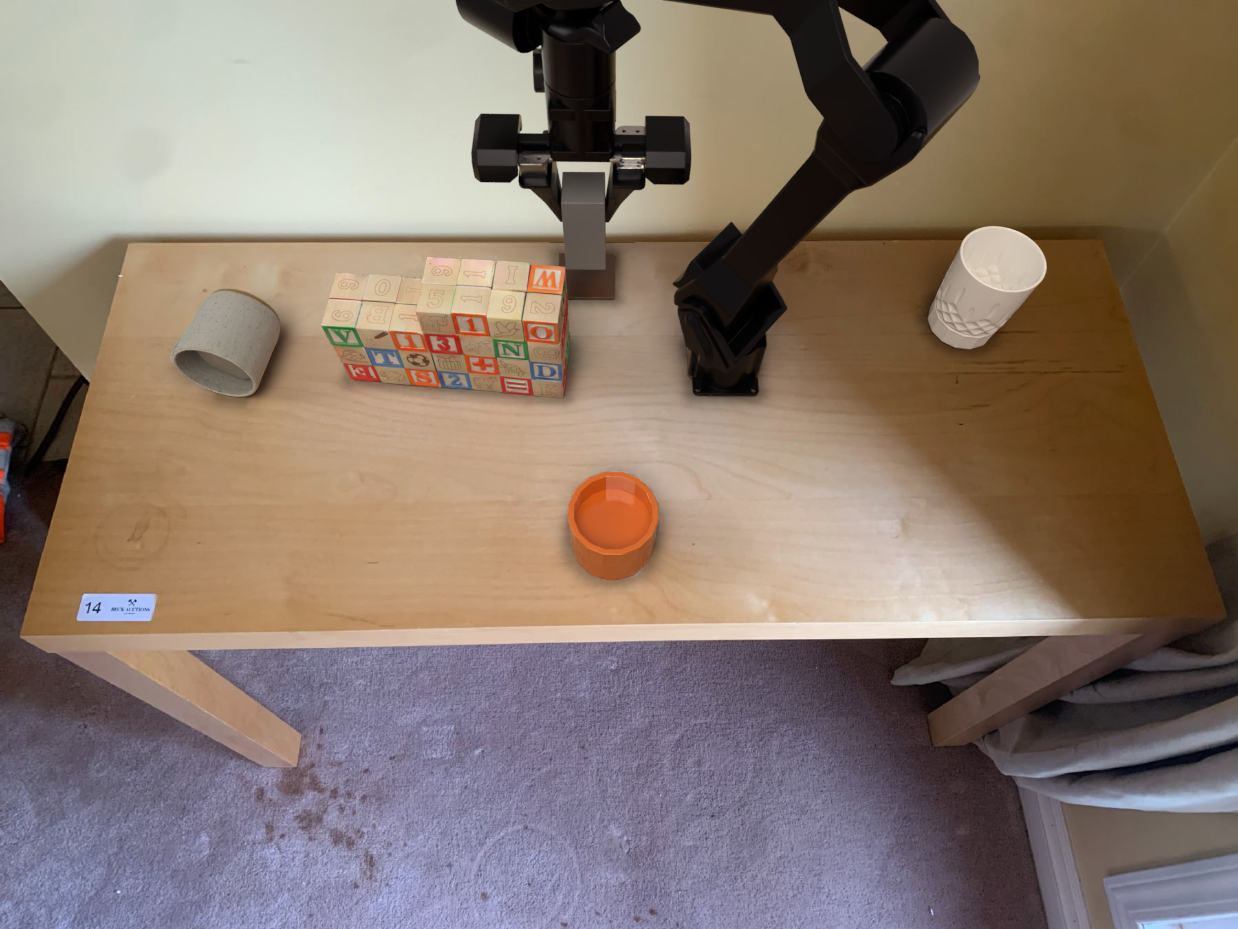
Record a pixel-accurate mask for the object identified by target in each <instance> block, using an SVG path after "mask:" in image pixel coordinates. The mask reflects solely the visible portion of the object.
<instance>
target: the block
mask: <svg viewBox="0 0 1238 929" xmlns="http://www.w3.org/2000/svg"><path fill="white" fill-rule="evenodd" d="M561 175H562V177H561V188H562V193H561V209H562V222H561V223H562V234H563V246H564V253H565V262H566V269H567V270H605V269H606V254H607V251H606V250H607V247H606V246H607V235H606V234H607V227H606V226H607V222H605V197H606V172H605V171H562V173H561Z"/></svg>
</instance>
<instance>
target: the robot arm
mask: <svg viewBox="0 0 1238 929" xmlns="http://www.w3.org/2000/svg"><path fill="white" fill-rule="evenodd" d="M663 1H664V2H671V3H679V4H687V5H692V6H693V5H694V6H699V7H700V6H701V7H707V8H714V9H715V8H716V9H722V10H729V11H736V12H742V13H750V14H755V15H764V16H771V17H773V19H774V20H775V21H776V23H777V24H778V25H779V26H780V28H781V29H782V30H783V32H784V33H785V34H786V35H787V36H788V38H789V40H790V44H791V47H792V52H793V55H794V58H795V61H796V64H797V69H798V72H799V76H800V79H801V83H802V86H803V90H804V93H805V95H806V96H807V98H808V100H809V102H811V104H812V105H813V106H814V107H815V109H816V110H817V111H818V112H819V114H820V115H821V116H822V118H823V119H822V120H821V122H820V123H819V124H820V125H819V126H818V128H817V129H816V134H815V140H814V145H813V149H812V152H811V154H810V155H809V157H808V158H807V159H805V161H804V163H802V164H801V166H800V167H798V169H797V170H796V171H795V173H794V174H792V176H791V177H790V179H789V180H788V181H787V182H786V183H785V184H784V185H783V187H782V188H781V189H780V190H779V192H777V194H776V195H774V197H773V198H772V200H771V201H769V203H768V204H767V205H766V207H765V208H764V209H763V210H762V211H761V212H760V214H759V215H758V216H757V217H756V218H755V219H754V220H753V222H752V223H751V224H750V225H749V226H748V227H747V229H746V230H745V231H744V232H741V231H740V229H739V228H738V227H737V226H736V224H735V223H734V222H733V221H730V222H729V223H728V224H727V225H726V226H725V227H724V228H723V229H722V230H721V231H720V232H719V233H717V235H715V237H714V238H713V239H711V241H710V242H709V243H708V244H706V245H705V247H703V249H702V250H700V252H698V253H697V255H696V256H694V257H693V258H692V259H691V260H690V261H689V263H688V265H687V266H686V268H685V270H684V271H683V272H682V273H681V274H680V275H679V276H678V277H677V278H676V279H675V280H674V281H673V282H672V283H671V284H672V286H673V287H675V288H677V289H676V291H674V295H673V304H674V305H675V306H677V310H676V312H677V317H678V320H679V324H680V325H679V326H680V329H681V332H682V337H683V340H684V344H685V347H686V348H687V350H686V366H687V368H686V370H687V371H686V372H687V375H688V376H689V377H691V391H692V394H693V395H694V396H697V397H707V396H708V397H756V396H758V395H759V392H760V386H759V376H758V375H759V372H760V369H761V366H762V363H763V360H764V356H765V353H766V350H767V347H768V341H767V340H768V339H767V332H768V331H769V330H770V329H771V327H772V326H774V325H775V323H776V322H777V321H778V320H779V319H780V318H781V317H782V316H783V314H785V313H786V311H787V310H788V306H787V304H786V303H785V301H784V299H783V297H782V295H781V293H780V292H779V290H778V288H777V286H776V284H775V283H774V280H773V279H775V276H776V275H777V273H778V271H779V270H778V269H779V264H780V263H781V262H782V261H783V260H784V259H785V258H786V257H787V256H788V255H789V254H790V253H791V252H792V251H793V250H794V249H795V248H796V247H797V246H798V245H799V244H800V243H801V242H802V241H804V239H805V238H806V237H807V236H808V235H809V234H810V233H811V232H812V231H813V230H814V229H815V228H816V227H817V226H818V225H819V224H820V223H821V222H822V221H824V220H825V218H826V217H827V216H829V215H830V213H831V212H832V211H833V210H834V209H836V207H838V206H839V205H840V203H842V201H844V200H845V199H846V198H847V197H848V196H849V195H850V194H851V193H852V194H853V192H855V191H858V190H862V189H866V188H870V187H872V186H874V185H876V184H878V183H879V182H881V181H883V180H884V179H885V178H888V177H889V176H891V175H892V174H894V173H895V172H897V171H899V170H900V169H902V168H904V167H906V166H907V165H908V164H909V163H911V162H912V161H913V160H914V159H915V158H916V157H917V156H918V155H919V154H920V153H921V152H922V151H923V150H924V148H926V146H927V145H928V144H929V143H930V142H931V141H932V140H933V139H934V138H935V136H936V135H937V134H938V133H939V132H940V131H941V130H942V129H943V128H944V126H945V125H947V123H948V122H950V120H951V119H953V117H954V116H955V115H956V114H957V112H958V111H959V110H960V109H962V107H963V106H964V105H965V104H966V103H967V102H968V100H969V99H970V98H971V97H972V96H973V94H974V93H975V91H976V90H977V88H978V86H979V83H980V81H981V75H980V59H979V57H978V54H977V50H976V48H975V47H976V46H975V45H974V43H973V42H972V40H971V39H970V38H969V35H968V34H967V33H966V32H965V31H964V30H963V29H961V28H960V27H959V26H957V25H956V24H955V23H954V22H952V20H951V19H950V17H949V16H948V14H946V12H945V11H944V10H943V8H942V6H941V5H940V4H939V2H938V1H937V0H663ZM455 5H456V8H457V9H456V10H457V12H458V15H459V16H460V17H461V18H462V20H464V21H465V22H466V23H468V24H469V25H471V26H472V27H473V28H476V29H478V31H481V32H483V33H484V34H487V35H488V36H489V37H491V38H493V39H495V40H497V41H498V42H500V43H502V44H503V45H505V46H507V47H509V48H510V49H512V50H514V51H516V53H517V52H518V53H520V54H529V53H532V79H533V80H532V81H533V91H534V92H535V93H537V94H544V97H545V98H544V99H545V110H546V120H547V121H546V122H547V129H545V130H543V131H542V133H539V132H537V133H536V132H535V133H534V132H533V133H532V132H531V133H528V132H522V131H523V119H522V115H521V114H520V113H479V115H478V117H477V118H476V119H475V121H474V128H473V135H472V144H471V152H470V155H471V157H470V158H471V166H472V172H473V176H474V179H476V181H478V182H479V183H489V184H490V183H494V184H497V183H498V184H511V183H512V182H513V181H514V180H515V179H516V178H517V177H518V180H517V181H518V186H519V187H520V188H521V189H523V190H530V191H531V192H532V193H534V194H535V195H536V196H537V197H538V198H539V199H540V200H541V201H542V202H544V204H545V205H546V206H547V207H548V209H550V211H551V212H552V213H553V214H554V216H555V217H556V219H557V220H558V221H559V222H560V223H563V222H562V209H561V193H562V182H561V179H560V173H559V169H558V163H610V165H609V173H608V178H607V185H606V190H605V222H606V224H607V223H608V224H609V223H610V222H611V220H612V219H613V217H614V215H615V214H616V212H617V211H618V209H619V208H620V206H621V205H622V204H623V203H624V201H626V200H627V198H628V197H630V195H631V194H632V193H633V192H634V191H642V190H644V189H645V188H646V182H647V181H649V182H650V183H651V184H653V185H655V186H657V185H658V186H659V185H661V186H662V185H663V186H664V185H665V186H666V185H667V186H668V185H669V186H680V185H681V186H684V185H685V184H686V183H688V182H689V181H690V179H691V178H690V177H691V169H692V140H691V139H692V138H691V123H690V121H689V120H688V119H687V118H686V117H685V116H684V115H645V116H644V125H620V126H618V127H617V128H616V123H617V73H616V72H617V51H618V50H619V49H621V48H622V47H623V46H624V45H625V44H627V43H628V42H629V41H630V40H632V39H633V38H635V37H636V36H637V35H638V34H639V33H640V32H641V30H642V26H641V24H640V22H639V21H638V19H637V18H636V16H635V15H634V14H633V13H631V12H630V11H628V9H627V8H626V7H625V6H624V4H623V3H622V0H455ZM840 9H841V10H843V11H845V12H847V13H849V14H850V15H852V16H853V17H855V18H857V19H859V20H861V21H862V22H864V23H866V24H867V25H868V26H870V27H873V28H874V29H876V30H877V31H878V32H879V33H880V34H881V35H882V37H883V38H884V39H885V41H886V43H885V44H884V45H883V46H882V47H881V48H880V49H879V50H878V51H877V52H876V53H875V54H873V56H871V57H870V58H869V59H868V60H867V61H866V62H865V63H864V64H863V65H861V64H859V62H858V61H857V59H856V58H855V57H854V55H853V53H852V50H851V46H850V43H849V39H848V34H847V32H846V28H845V24H844V21H843V17H842V15H841V11H840ZM539 47H540V48H539ZM646 180H647V181H646Z"/></svg>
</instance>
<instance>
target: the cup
mask: <svg viewBox="0 0 1238 929" xmlns="http://www.w3.org/2000/svg"><path fill="white" fill-rule="evenodd" d="M567 512H568V513H567V522H568V531H569V534H570V543H571V544H570V545H571V549H572V552H573V556H574V557H575V559H576V562H577V563H578V565H580V566H581V568H582V569H584V570H585V571H586V572H588V573H589V574H590V575H592V576H594V577H597V578H600V579H603V580H608V581H609V580H610V581H611V580H612V581H614V580H615V581H616V580H622V579H623V580H624V579H627V578H629V577H631V576H634V575H636V574H637V573H638V572H640V571H641V570H642V569H643V568H644V567H645V566H646V564H647V563H648V562H649V560H650V559H651V557H652V554H653V551H654V547H655V546H654V545H655V540H656V534H657V531H658V526H659V503H658V502H657V499H656V497H655V494H654V493H653V491H652V489H651V488H650V487H649V486H648V485H647V484H646V483H644V482H643V481H642V480H641V478H639V477H637V476H634V475H631V474H629V473H626V472H623V471H603V472H601V473H598V474H594V475H593V476H589V477H588V478H586V479H585V480H584V481H583V482H582V483H581V484H580V485H578V486H577V487H576V488H575V490H574V492H573V494H572V496H571V497H570V500H569V502H568V508H567Z"/></svg>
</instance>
